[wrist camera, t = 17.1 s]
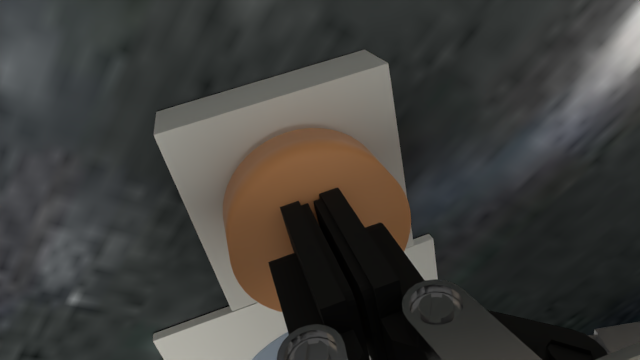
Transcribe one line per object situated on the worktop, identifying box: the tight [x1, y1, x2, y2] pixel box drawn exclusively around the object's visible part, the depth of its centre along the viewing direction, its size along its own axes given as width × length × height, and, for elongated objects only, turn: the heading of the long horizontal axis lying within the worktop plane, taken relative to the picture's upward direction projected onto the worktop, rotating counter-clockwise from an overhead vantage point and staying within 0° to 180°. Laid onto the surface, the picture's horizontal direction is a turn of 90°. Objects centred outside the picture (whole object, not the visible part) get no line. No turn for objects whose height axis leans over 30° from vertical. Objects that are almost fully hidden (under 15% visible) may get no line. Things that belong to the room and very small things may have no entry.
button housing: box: [154, 49, 414, 311], centre depth 16 cm, size 7×7×2 cm
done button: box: [223, 128, 411, 312], centre depth 13 cm, size 5×5×2 cm
